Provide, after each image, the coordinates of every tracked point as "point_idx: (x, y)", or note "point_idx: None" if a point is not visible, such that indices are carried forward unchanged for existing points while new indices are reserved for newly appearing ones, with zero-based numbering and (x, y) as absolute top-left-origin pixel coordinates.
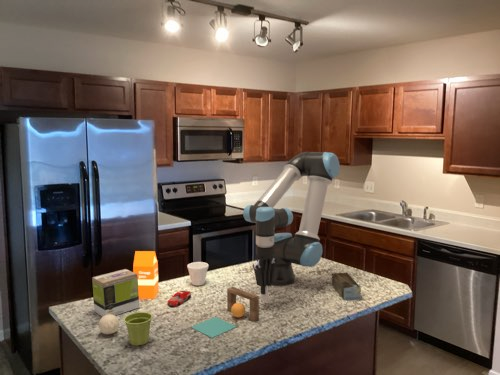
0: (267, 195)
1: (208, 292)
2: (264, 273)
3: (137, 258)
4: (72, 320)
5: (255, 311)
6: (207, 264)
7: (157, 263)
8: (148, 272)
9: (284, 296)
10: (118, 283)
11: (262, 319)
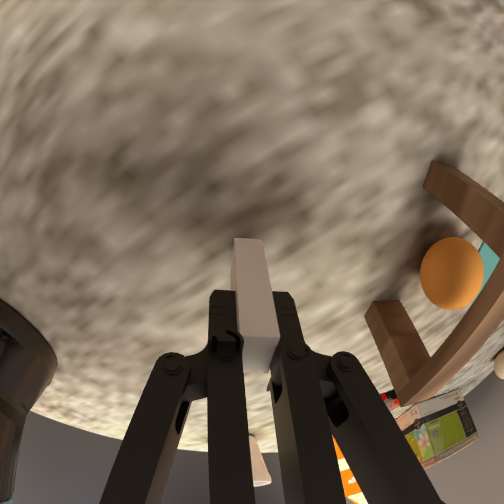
0: None
1: (271, 413)
2: (335, 487)
3: None
4: None
5: (483, 189)
6: None
7: (346, 491)
8: None
9: (55, 235)
10: (461, 440)
11: (428, 141)
